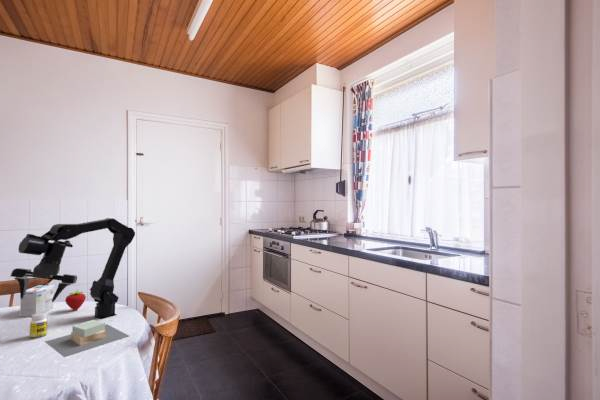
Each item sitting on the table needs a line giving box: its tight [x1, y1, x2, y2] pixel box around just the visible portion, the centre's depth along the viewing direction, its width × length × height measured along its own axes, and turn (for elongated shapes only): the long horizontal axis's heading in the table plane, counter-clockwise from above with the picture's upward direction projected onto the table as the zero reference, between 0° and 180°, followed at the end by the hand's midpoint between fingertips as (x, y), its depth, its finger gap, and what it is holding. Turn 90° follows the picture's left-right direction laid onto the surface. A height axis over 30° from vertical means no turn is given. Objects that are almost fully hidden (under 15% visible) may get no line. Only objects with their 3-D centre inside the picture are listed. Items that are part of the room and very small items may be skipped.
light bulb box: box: [19, 284, 55, 317], centre depth 137 cm, size 11×7×11 cm, turn 5°
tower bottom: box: [70, 330, 106, 346], centre depth 111 cm, size 8×8×2 cm
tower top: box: [71, 319, 106, 337], centre depth 111 cm, size 7×7×2 cm
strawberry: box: [65, 289, 87, 312], centre depth 140 cm, size 6×8×10 cm
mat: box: [44, 323, 130, 358], centre depth 111 cm, size 20×18×1 cm
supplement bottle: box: [29, 312, 48, 340], centre depth 112 cm, size 5×5×8 cm
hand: (37, 300), depth 112 cm, fingers open, 9 cm apart
